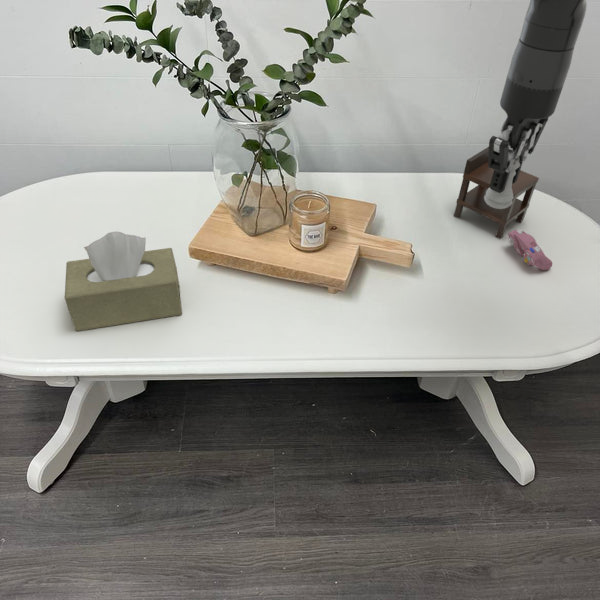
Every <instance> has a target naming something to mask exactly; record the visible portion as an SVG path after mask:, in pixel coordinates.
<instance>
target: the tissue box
mask: <svg viewBox="0 0 600 600" xmlns="http://www.w3.org/2000/svg"><path fill="white" fill-rule="evenodd" d="M146 244H147V237H141V236H138V235H134V234H126V233H124V232H122V231H116V230H115V231H110V232H107V233H106V234H104V236H102V237H100V238H99V239H97V240H95V241H93V242H91V243H89V244H88V245H87V246H83V248H84V250H85V251H86V254H87V257H88V258H85V259H77V260H69V261H66V264H65V265H66V266H65V282H64V283H65V285H64V300H65V304H66V307H67V311H68V312H69V315H70V318H71V320H72V323H73V326H74V329H75V331H76V332H81V331H87V330H93V329H99V328H100V329H101V328H106V327H111V326H118V325H124V324H131V323H136V322H143V321H150V320H155V319H163V318H169V317H175V316H180V315H181V316H182V314H183V309H182V301H181V300H182V299H181V285H180V280H179V275H178V268H177V264H176V259H175V255H174V251H173V248H172V247H166V248H159V249H152V250H146Z"/></svg>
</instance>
